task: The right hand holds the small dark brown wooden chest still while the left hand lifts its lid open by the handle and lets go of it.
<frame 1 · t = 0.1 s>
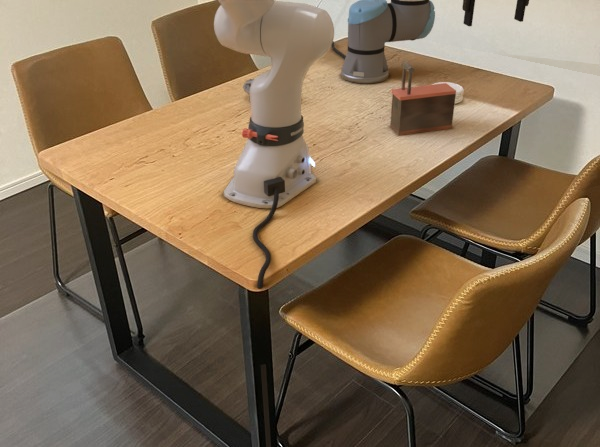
right hand: (493, 22, 149), 28 cm above the table, tool pointing down, fingers open, 13 cm apart
chest: (420, 127, 166), on the table
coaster: (445, 99, 183), on the table
lid: (424, 78, 158), point 14 cm above the table, hinge at 0.0°
rock: (267, 100, 184), on the table
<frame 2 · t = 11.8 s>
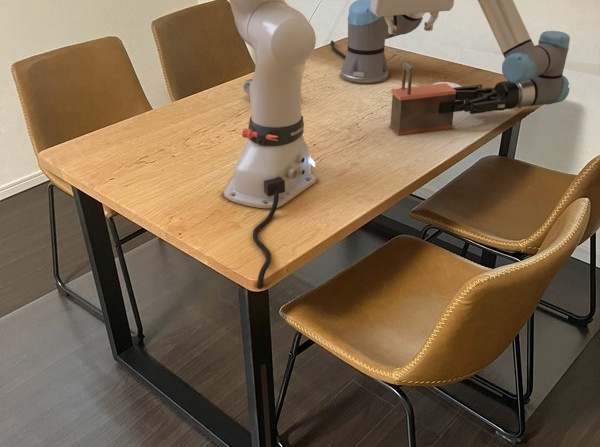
left hand: (410, 31, 151), 26 cm above the table, tool pointing down, fingers open, 8 cm apart
right hand: (434, 103, 163), 6 cm above the table, tool horizontal, fingers closed on chest, 6 cm apart
chest: (420, 127, 166), on the table, touching right hand
everything else where it was.
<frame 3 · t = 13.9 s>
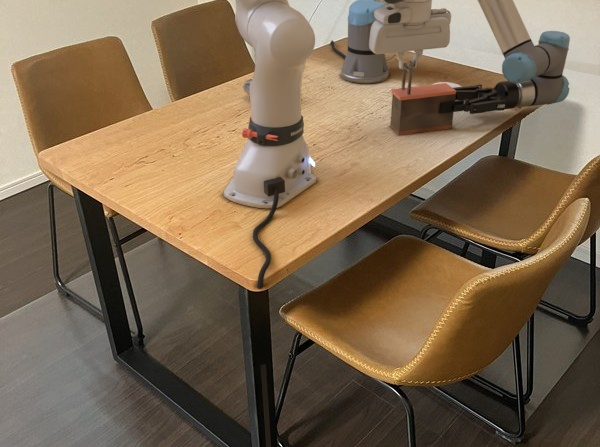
left hand: (407, 67, 156), 17 cm above the table, tool pointing down, fingers closed on lid
right hand: (434, 103, 163), 6 cm above the table, tool horizontal, fingers closed on chest, 6 cm apart
chest: (420, 127, 166), on the table, touching right hand
lid: (424, 78, 158), point 14 cm above the table, hinge at 0.0°, touching left hand
everything else where it was.
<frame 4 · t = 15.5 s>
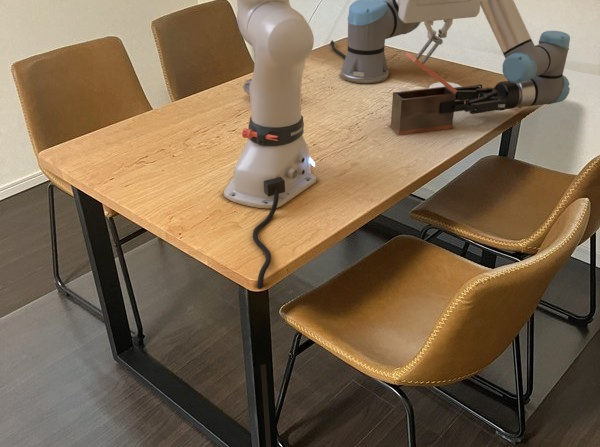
left hand: (436, 37, 154), 24 cm above the table, tool pointing down, fingers closed, pressing on lid
right hand: (434, 103, 163), 6 cm above the table, tool horizontal, fingers closed on chest, 6 cm apart
chest: (421, 127, 166), on the table, touching right hand
lid: (440, 61, 157), point 18 cm above the table, hinge at 37.8°, touching left hand
everything else where it was.
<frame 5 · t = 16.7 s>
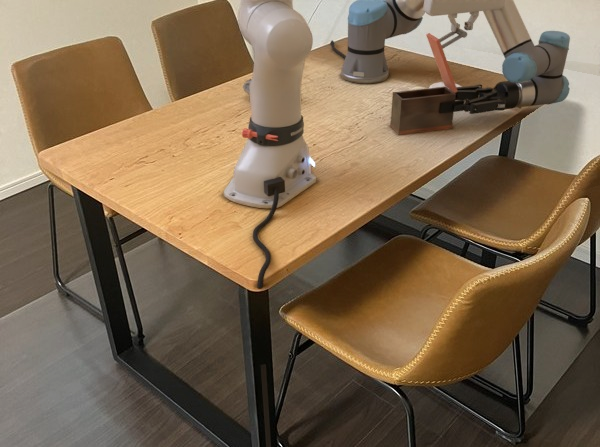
left hand: (461, 30, 154), 25 cm above the table, tool pointing down, fingers closed
right hand: (434, 103, 163), 6 cm above the table, tool horizontal, fingers closed on chest, 6 cm apart
chest: (420, 127, 166), on the table, touching right hand
lid: (454, 56, 157), point 19 cm above the table, hinge at 64.1°
everything else where it was.
when the right hand's fingers open (6 cm above the table, at t = 20.5 s): chest stays where it is, on the table.
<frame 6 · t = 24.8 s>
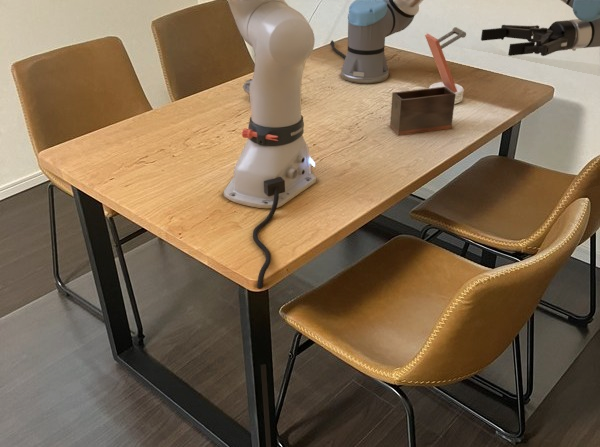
right hand: (495, 42, 158), 21 cm above the table, tool horizontal, fingers open, 13 cm apart
chest: (420, 127, 166), on the table
lid: (453, 56, 157), point 19 cm above the table, hinge at 63.4°
everything else where it was.
at the end: lid at +63° (first picture: +0°); the left hand is holding nothing; the right hand is holding nothing; chest tilted 0°; chest never tilted more than 1° during the clip; chest moved 0.1 cm from its start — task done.
